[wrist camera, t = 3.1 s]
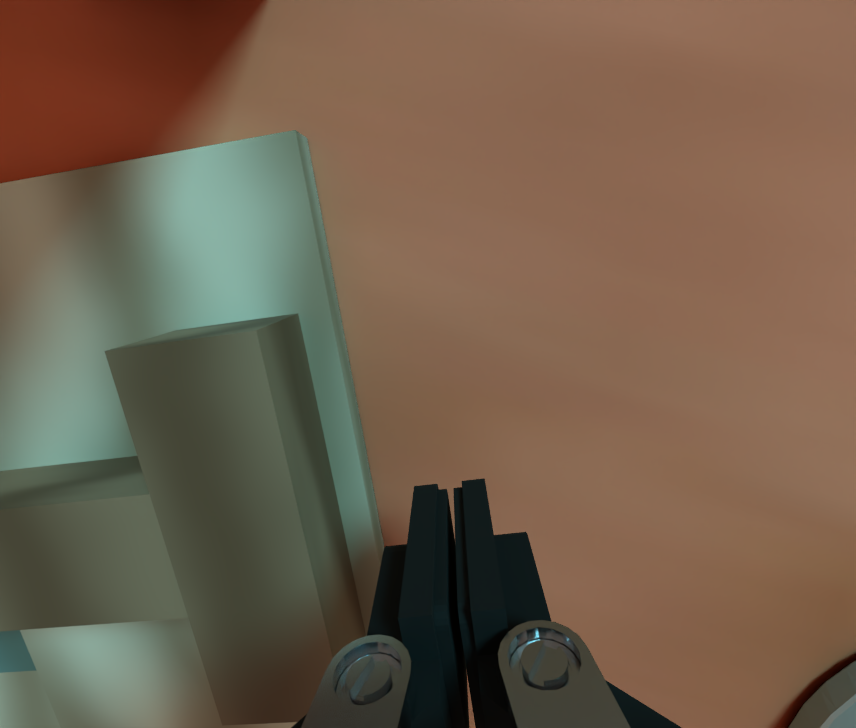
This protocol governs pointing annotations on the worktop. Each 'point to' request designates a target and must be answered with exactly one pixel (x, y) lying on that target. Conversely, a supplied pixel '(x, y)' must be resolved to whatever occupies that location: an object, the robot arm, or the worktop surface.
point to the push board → (141, 319)
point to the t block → (199, 518)
